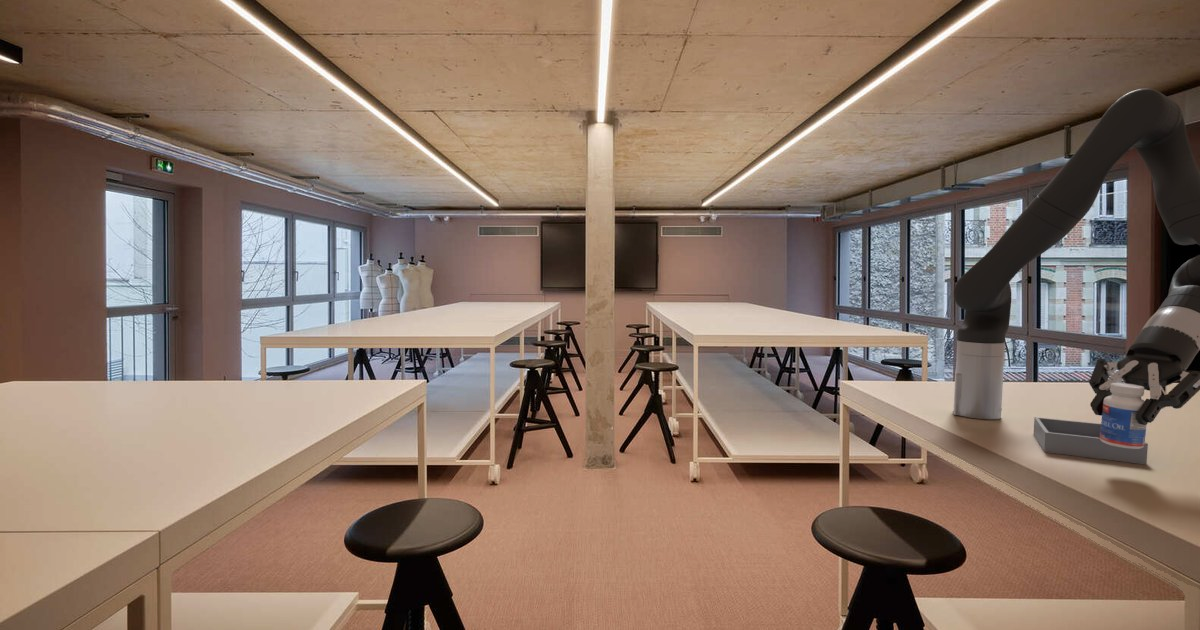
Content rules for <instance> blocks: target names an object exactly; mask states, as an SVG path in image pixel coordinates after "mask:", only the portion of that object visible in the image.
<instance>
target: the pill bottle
mask: <svg viewBox="0 0 1200 630" xmlns="http://www.w3.org/2000/svg"><path fill="white" fill-rule="evenodd" d="M1110 392H1111V393H1112V395H1111V396H1107V397H1105V398H1104V401H1103V411H1102V416H1101V423H1100V424H1101V431H1100V440H1101V441H1102V442H1104V443H1106V444H1109V445H1112V446H1116V447H1122V448H1131V449H1140V448H1143V447H1144V444H1145V442H1146V434H1147V425H1142V424H1139V423H1138V421H1137V419H1136V414H1137V412H1138V411H1139V409H1140V408H1141V406H1142V405H1143V403H1144V402H1145V400H1144V399H1142V397H1144V395H1145V389H1144V387H1143V386H1139V385H1134V384H1127V383H1125V382H1122V383H1111V388H1110Z"/></svg>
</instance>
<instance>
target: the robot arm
mask: <svg viewBox="0 0 1200 630" xmlns="http://www.w3.org/2000/svg"><path fill="white" fill-rule="evenodd" d="M1186 128H1187V127H1186V123H1185V120H1184V115H1183V111H1182V109H1181V105H1179V104H1178V103H1177V102H1176V101H1174V99H1171V98H1170V97H1168V96H1166V94H1163V93H1162V92H1160V91H1159V90H1157V89H1153V88H1146V87H1145V88H1139V89H1136V90H1135V89H1134V90H1132V91H1130V92H1128V93H1126V94H1124V95H1122V96H1121V97H1120V98H1118V99H1117V100H1116V101H1115V102H1114V103H1112V104H1111V106H1110V107H1109V108H1108V109H1107V110H1106V111H1105V112H1104V114H1103V115H1102V117H1101V118H1100V119H1099V121H1098V122H1097V123H1096V125H1095V126H1094V127H1093V129H1092V130H1091V131H1090V133H1089V134H1088V135H1087V137H1086V138H1085V140H1084V141H1083V142H1082V144H1081V145H1080V146H1079V148H1078V149H1077V150H1076V152H1075V153H1074V154H1073V155H1072V156H1071V157H1070V159H1069V160H1068V161H1066V163H1065V164H1064V165H1063V166H1062V167H1061V169H1060V170H1059V171H1057V173H1056V174H1055V175H1054V177H1053V178H1051V180H1050V181H1049V182H1048V184H1046V185H1045V187H1044V188H1043V189H1041V191H1040V192H1039V193H1038V194H1037V195H1036V196H1035V197H1034V199H1032V200H1031V202H1030V203H1029V204H1028V205H1027V206H1026V207H1025V209H1023V211H1022V212H1021V214H1019V216H1018V217H1017V218H1016V219H1015V220H1014V222H1013V223H1012V224H1011V225H1010V226H1009V227H1008V228H1007V230H1006V231H1005V232H1004V233H1003V234H1002V236H1001V237H1000V238H999V240H998V241H997V242H996V243H995V244H994V246H993V247H991V249H990V250H989V251H988V252H987V253H986V254H985V255H984V256H983V257H981V258H980V259H979V260H978V261H977V262H976V263H975V264H974V265H973V266H971V267H970V268H969V269H968V270H967V271H966V272H965V273H964V274H963V275H961V276H960V278H959V279H958V281H956V283H955V286H954V289H953V299H954V301H955V303H956V305H957V307H959V308H960V309H962V310H964V311H965V312H964V318H963V321H962V323H961V325H960V326H959V327H958V329H957V333H956V360H955V371H954V388H953V389H954V392H953V393H954V394H953V415H955V416H961V417H964V418H965V417H966V418H970V419H971V418H972V419H980V420H999V419H1002V411H1003V408H1002V407H1003V406H1002V405H1003V384H1004V370H1005V369H1004V367H1005V346H1006V335H1007V332H1008V330H1009V327H1010V320H1011V309H1012V308H1011V307H1012V288H1011V284H1010V282H1011V281H1012V280H1013V278H1014V277H1016V275H1017V274H1018V273H1019V272H1020V271H1021V270H1022V269H1023V268H1025V267H1026V265H1028V264H1029V263H1030V262H1032V261H1033V260H1035V259H1036V258H1038V257H1040V256H1041V255H1042V254H1044V253H1045V252H1047V251H1049V249H1051V248H1052V247H1054V246H1055V245H1056V244H1058V243H1059V242H1060V241H1061V240H1062V239H1064V238H1065V237H1066V236H1067V235H1068V234H1069V233H1070V232H1071V231H1072V230H1073V229H1074V228H1075V227H1076V225H1078V224H1079V222H1080V221H1081V220H1082V219H1083V218H1085V216H1086V215H1087V214H1088V212H1089V211H1090V210H1091V209H1092V207H1093V205H1094V203H1095V201H1096V199H1097V197H1098V195H1099V193H1100V191H1101V187H1102V185H1103V184H1104V181H1105V179H1106V178H1107V176H1108V174H1109V172H1110V171H1111V170H1112V168H1113V167H1114V166H1115V165H1116V164H1117V163H1118V161H1119V160H1121V158H1123V156H1124V155H1125V154H1126V153H1127V152H1128V151H1129V150H1131V149H1132V147H1133V149H1134V150H1135V151H1136V152H1137V154H1138V155H1139V156H1140V158H1141V159H1142V160H1143V161H1144V163H1145V165H1146V167H1147V169H1148V171H1149V173H1150V177H1151V179H1152V180H1151V181H1152V185H1153V188H1152V189H1153V195H1154V200H1155V201H1154V202H1155V204H1156V207H1157V210H1158V213H1159V215H1160V217H1161V219H1162V222H1163V224H1164V226H1165V229H1166V230H1167V232H1168V234H1169V237H1170V238H1171V240H1172V241H1173V242H1174V244H1176V245H1181V246H1190V245H1199V247H1200V169H1199V167H1198V165H1197V163H1196V160H1195V157H1194V155H1193V151H1192V149H1191V146H1190V141H1189V137H1188V133H1187V129H1186ZM1199 351H1200V254H1198V255H1196V256H1195V257H1192V258H1190V259H1188V260H1187V261H1186V262H1184V263H1183V264H1181V265H1180V267H1178V269H1176V271H1175V272H1174V273H1173V276H1172V278H1171V282H1170V284H1169V289H1168V294H1167V297H1166V298H1165V299H1164V301H1162V303H1161V305H1160V306H1159V307H1158V309H1157V310H1156V312H1154V314H1153V315H1152V316H1151V317H1150V318H1149V319H1148V320H1147V322H1146V323H1145V324H1144V326H1143V327H1142V329H1141V330H1140V331H1139V333H1138V335H1137V336H1136V337H1135V339H1134V340H1133V342H1132V343H1131V345H1130V346H1129V347H1128V350H1127V352H1126V355H1125V357H1123V358H1122V359H1120V360H1118V361H1117V362H1116V361H1115V362H1111V361H1110V362H1108V361H1107V360H1106V359H1105V358H1099V359H1098V360H1097V361H1096V363H1095V366H1094V368H1093V371H1092V374H1091V376H1090V379H1089V381H1088V384H1089V385H1090V387H1091V389H1092V391H1093V392H1094V394H1095V396H1094V397H1093V399H1092V400H1091V401H1090V405H1089V406H1090V407H1091V410H1092V412H1093V413H1094V415H1096V416H1101V417H1102V411H1103V401H1104V398H1105V397H1107V396H1111V395H1112V393H1111V392H1110V388H1111V383H1127V384H1134V385H1139V386H1143V387H1144V391H1145V390H1146V391H1149V398H1146V399H1145V400H1144V401H1145V402H1144V403H1143V405H1142V406H1141V408H1140V409H1139V411H1138V412H1137V414H1136V419H1137V421H1138V423H1139V424H1142V425H1146V426H1147V425H1148V424H1149V423H1152V422H1154V421H1155V420H1156V418H1157V416H1158V415H1159V413H1160V411H1161V410H1163V409H1165V408H1166V407H1169V408H1171V407H1172V408H1173V409H1175V410H1176V409H1181V408H1183V406H1185V404H1187V403H1188V402H1189V401H1190V400H1191V399H1192V398H1193V397H1194V396H1196V394H1197V393H1198V392H1199V391H1200V372H1199V371H1197V370H1192V371H1190V372H1188V371H1187V369H1188V368H1189V366H1190V365H1191V364H1192V362H1193V361H1194V359H1195V357H1196V356H1197V354H1198V353H1199ZM1177 382H1178V383H1177ZM1174 383H1177V384H1176V385H1174V387H1173V388H1172V389H1171V390H1170V391H1169V392H1167V386H1170V385H1172V384H1174Z"/></svg>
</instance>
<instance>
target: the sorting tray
mask: <svg viewBox="0 0 1200 630" xmlns="http://www.w3.org/2000/svg"><path fill="white" fill-rule="evenodd" d="M1033 418H1034V420H1033V436H1034V438H1035V439H1036V441H1037V443H1038V445H1039V446H1040V448H1041V449H1042V451H1043V452H1044V453H1051V454H1058V455H1068V456H1074V457H1081V458H1082V457H1083V458H1089V459H1090V458H1092V459H1098V460H1099V459H1100V460H1105V461H1106V460H1107V461H1116V462H1124V463H1130V464H1139V465H1145V466H1146V465H1148V464H1147V463H1148V449H1149V448H1148V447H1149V444H1148V442H1146V441H1145V444H1144V447H1143V448H1140V449H1131V448H1122V447H1116V446H1112V445H1109V444H1106V443H1104V442H1102V441H1101V440H1100V431H1101V423H1096V422H1087V421H1076V420H1067V419H1058V418H1057V419H1056V418H1048V417H1037V416H1034V417H1033Z"/></svg>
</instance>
